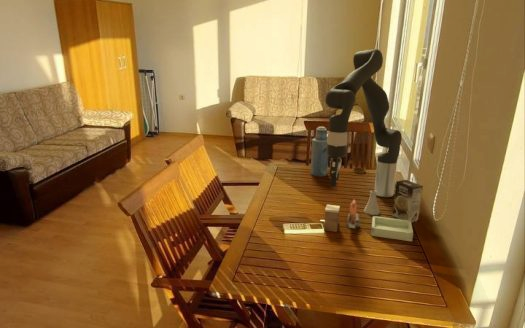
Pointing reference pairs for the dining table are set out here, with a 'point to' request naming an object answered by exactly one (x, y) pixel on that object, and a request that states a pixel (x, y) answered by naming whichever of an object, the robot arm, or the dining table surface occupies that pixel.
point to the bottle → (319, 153)
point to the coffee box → (407, 200)
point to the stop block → (331, 218)
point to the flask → (372, 204)
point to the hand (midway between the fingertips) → (334, 183)
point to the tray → (392, 228)
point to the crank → (353, 215)
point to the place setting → (357, 169)
